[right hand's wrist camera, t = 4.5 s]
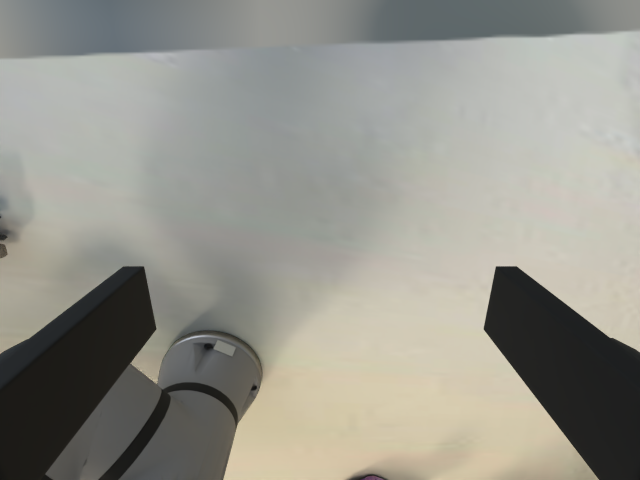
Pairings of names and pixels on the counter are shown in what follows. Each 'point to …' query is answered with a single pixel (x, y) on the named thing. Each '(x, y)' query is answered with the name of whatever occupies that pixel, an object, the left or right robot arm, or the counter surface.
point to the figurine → (372, 478)
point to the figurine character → (2, 246)
